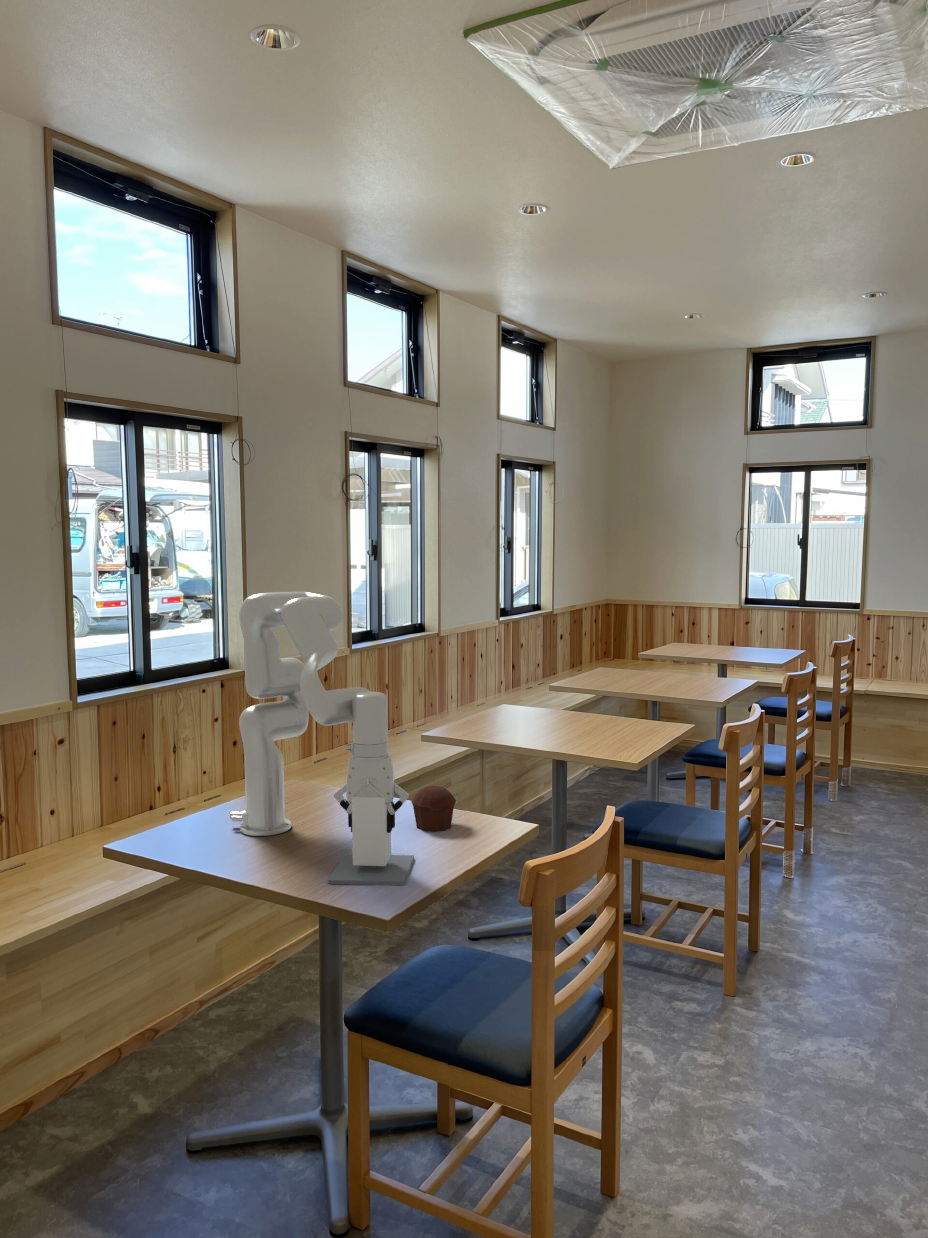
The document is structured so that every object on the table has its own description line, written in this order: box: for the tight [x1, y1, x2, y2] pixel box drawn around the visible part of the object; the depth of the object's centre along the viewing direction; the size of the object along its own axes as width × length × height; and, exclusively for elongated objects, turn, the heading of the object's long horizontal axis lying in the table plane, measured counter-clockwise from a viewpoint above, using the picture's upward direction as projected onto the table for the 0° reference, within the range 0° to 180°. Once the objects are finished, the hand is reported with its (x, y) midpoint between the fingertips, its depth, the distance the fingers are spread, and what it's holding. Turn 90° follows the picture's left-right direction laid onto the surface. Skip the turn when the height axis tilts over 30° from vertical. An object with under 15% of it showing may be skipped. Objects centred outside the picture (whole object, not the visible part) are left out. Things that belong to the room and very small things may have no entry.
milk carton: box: [351, 778, 392, 866], centre depth 191 cm, size 7×7×19 cm
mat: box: [327, 853, 415, 886], centre depth 192 cm, size 16×16×1 cm
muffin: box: [410, 785, 457, 833], centre depth 223 cm, size 12×11×10 cm
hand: (371, 830), depth 191 cm, fingers closed on milk carton, 7 cm apart
